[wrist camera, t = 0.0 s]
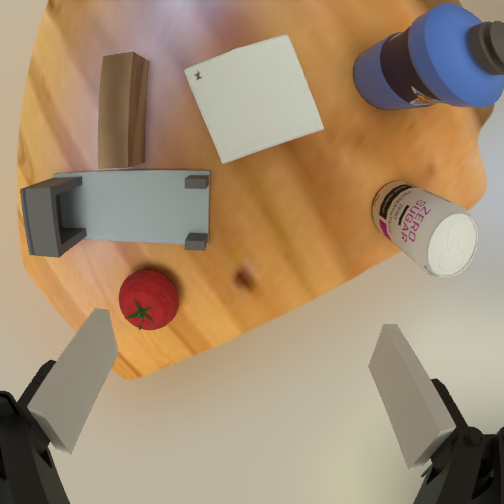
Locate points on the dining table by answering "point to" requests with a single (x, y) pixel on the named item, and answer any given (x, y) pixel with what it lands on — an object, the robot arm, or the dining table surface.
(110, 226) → the board
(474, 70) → the water bottle
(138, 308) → the tomato
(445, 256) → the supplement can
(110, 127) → the walnut slat
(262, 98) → the supplement box
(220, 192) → the dining table surface
